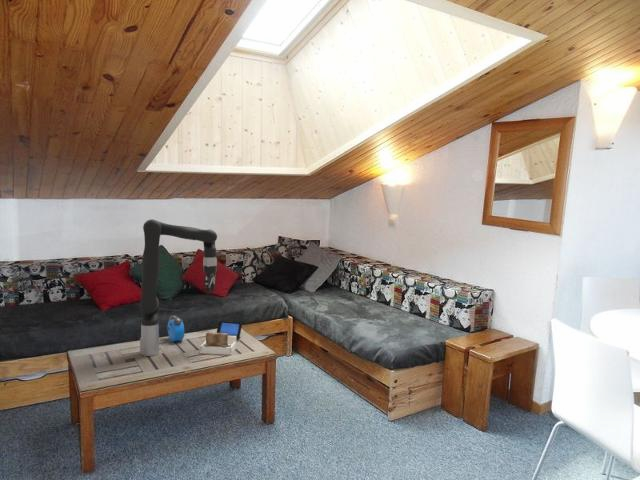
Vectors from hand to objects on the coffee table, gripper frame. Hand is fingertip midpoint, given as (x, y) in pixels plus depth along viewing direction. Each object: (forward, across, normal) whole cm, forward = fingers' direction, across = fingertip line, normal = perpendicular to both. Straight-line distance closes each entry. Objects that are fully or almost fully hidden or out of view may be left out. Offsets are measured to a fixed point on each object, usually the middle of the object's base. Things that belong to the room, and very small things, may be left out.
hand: (210, 292), depth 276 cm
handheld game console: (+34, -17, +5) cm, 38 cm away
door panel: (+32, +7, +6) cm, 33 cm away
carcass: (+33, +4, +6) cm, 34 cm away
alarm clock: (+33, -9, -24) cm, 42 cm away
